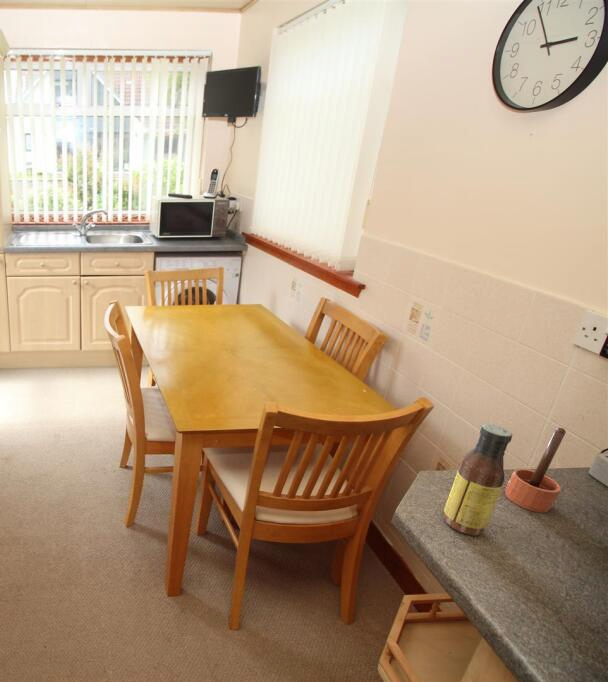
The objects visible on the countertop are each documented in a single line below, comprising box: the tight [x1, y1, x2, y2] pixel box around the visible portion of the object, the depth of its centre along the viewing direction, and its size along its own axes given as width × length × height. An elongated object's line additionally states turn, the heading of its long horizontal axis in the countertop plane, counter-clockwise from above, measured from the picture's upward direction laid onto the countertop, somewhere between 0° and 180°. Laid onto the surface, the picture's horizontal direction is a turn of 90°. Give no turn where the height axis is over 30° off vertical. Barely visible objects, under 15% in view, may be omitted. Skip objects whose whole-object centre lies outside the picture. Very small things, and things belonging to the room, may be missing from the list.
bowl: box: [504, 468, 562, 514], centre depth 92 cm, size 7×7×5 cm
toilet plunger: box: [529, 427, 567, 488], centre depth 90 cm, size 4×4×16 cm
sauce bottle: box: [443, 423, 513, 537], centre depth 82 cm, size 6×6×20 cm
